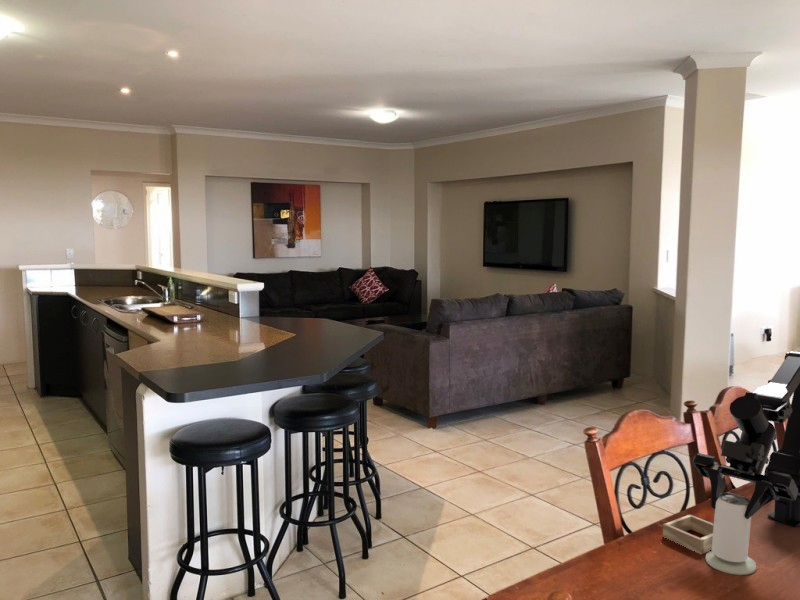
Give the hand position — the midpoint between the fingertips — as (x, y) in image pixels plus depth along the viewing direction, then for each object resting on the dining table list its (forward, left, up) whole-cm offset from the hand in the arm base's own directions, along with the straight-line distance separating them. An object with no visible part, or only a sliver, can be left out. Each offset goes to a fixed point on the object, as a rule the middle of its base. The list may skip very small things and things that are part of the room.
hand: (729, 512), depth 128 cm
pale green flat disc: (-1, 0, -11) cm, 11 cm away
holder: (-4, -10, -11) cm, 15 cm away
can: (-1, -1, -10) cm, 10 cm away
